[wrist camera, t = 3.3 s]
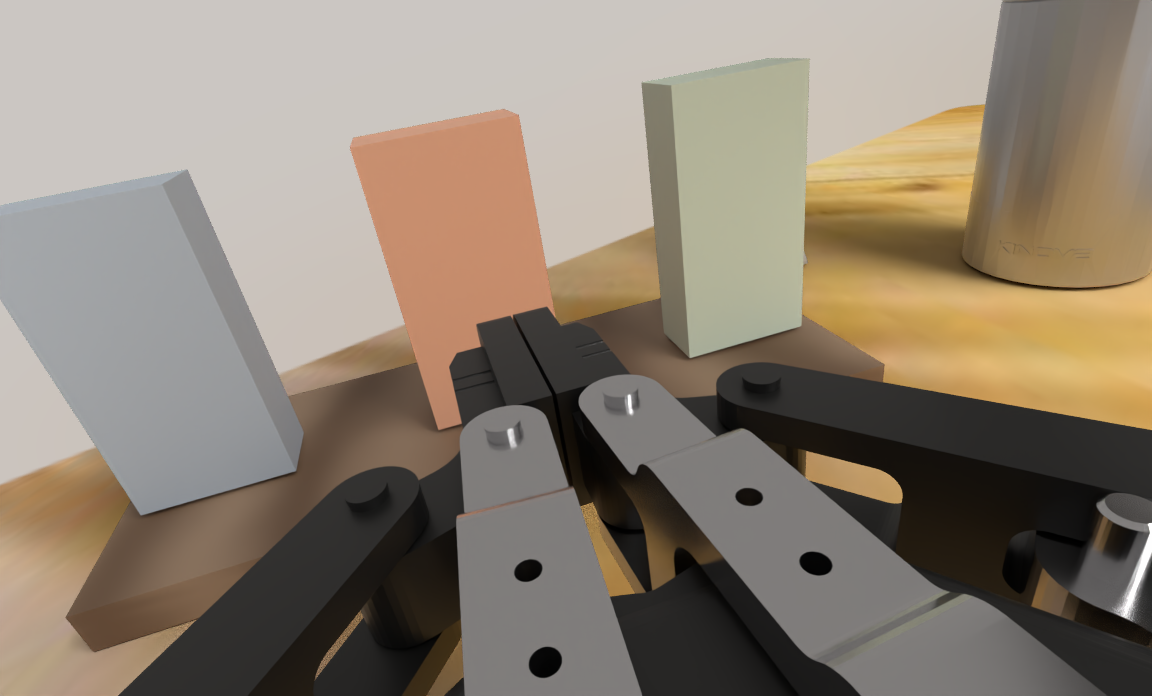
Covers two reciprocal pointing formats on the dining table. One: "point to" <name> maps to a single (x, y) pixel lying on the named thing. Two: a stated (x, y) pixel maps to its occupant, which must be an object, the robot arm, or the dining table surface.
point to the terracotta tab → (454, 234)
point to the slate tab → (148, 337)
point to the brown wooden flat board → (358, 443)
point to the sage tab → (729, 200)
